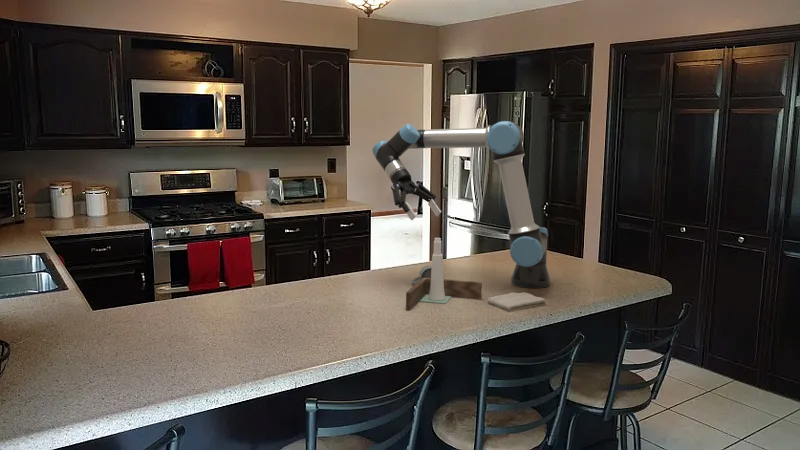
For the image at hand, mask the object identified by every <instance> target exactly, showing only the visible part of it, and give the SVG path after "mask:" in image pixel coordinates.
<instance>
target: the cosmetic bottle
mask: <svg viewBox="0 0 800 450" xmlns="http://www.w3.org/2000/svg"><path fill="white" fill-rule="evenodd" d="M441 239H442V238H440V237H434V241H433V254H432V256H431V266H432V269H431V284H430V292H429V299H431V300H444V299H445V292H444V281H443V279H444V259H443V258H444V257H443V256H444V255H443V253H442V240H441Z"/></svg>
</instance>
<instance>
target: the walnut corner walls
mask: <svg viewBox="0 0 800 450" xmlns="http://www.w3.org/2000/svg"><path fill="white" fill-rule="evenodd" d="M443 281H444V292H445V296H452V297H451V298H463V299H473V300H475V299H476V300H482V298H483V297H482V295H483V294H482V293H483V281H474V280H458V279H444V278H443ZM430 284H431V278H422V279H421V280H420V281H419V282H418V283H417V284H415V285H412V287H411V288H410V289H408V290H407V291H406V292H405V310H406V311H411V310H412V309H413V308H414V307H415V306H416V305H417V304H418V303H420V302H419V301H420V300H421V299H422V298H423V297H424V296H425V295H426V294H429V292H430Z"/></svg>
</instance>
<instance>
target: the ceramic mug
mask: <svg viewBox="0 0 800 450" xmlns="http://www.w3.org/2000/svg"><path fill="white" fill-rule="evenodd" d="M431 269H432V265H425V266H423V267H422V268H420V271H419V276H417V277H415V278H413V279H412V280H411V283H412V286H414V285H415V284H417V283H418V282H419V281H420V280H421V279H422V278H431Z"/></svg>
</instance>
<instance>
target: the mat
mask: <svg viewBox="0 0 800 450" xmlns="http://www.w3.org/2000/svg"><path fill="white" fill-rule="evenodd" d="M452 298H453V297H452V296H445V299H444V300H431V299H429V294H426V295H425V296H424V297H423V298H422V299H421V300H420V301H419V302H418V303H427V304H428V303H430V304H440V305H441V304H442V305H446V304H447V303H448V302H449V301H450V300H451V299H452Z"/></svg>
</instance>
